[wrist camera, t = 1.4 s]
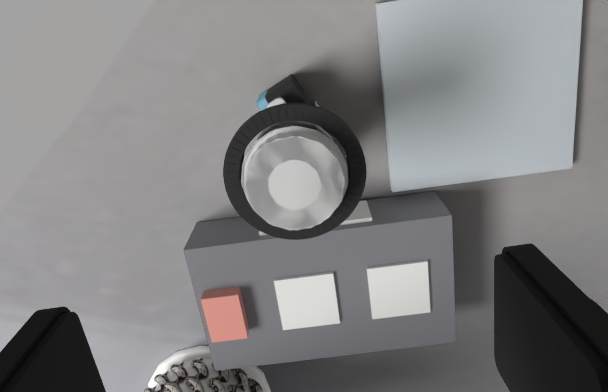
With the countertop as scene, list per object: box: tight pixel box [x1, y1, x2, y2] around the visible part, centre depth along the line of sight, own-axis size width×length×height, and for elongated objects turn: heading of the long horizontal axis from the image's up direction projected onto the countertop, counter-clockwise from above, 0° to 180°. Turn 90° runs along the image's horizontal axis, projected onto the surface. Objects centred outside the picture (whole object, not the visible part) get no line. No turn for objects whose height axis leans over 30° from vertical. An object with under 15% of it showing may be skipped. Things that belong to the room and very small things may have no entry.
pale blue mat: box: [375, 0, 583, 192], centre depth 26 cm, size 10×10×1 cm
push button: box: [223, 74, 366, 240], centre depth 22 cm, size 7×5×10 cm
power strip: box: [184, 191, 456, 371], centre depth 28 cm, size 14×8×4 cm, turn 98°
